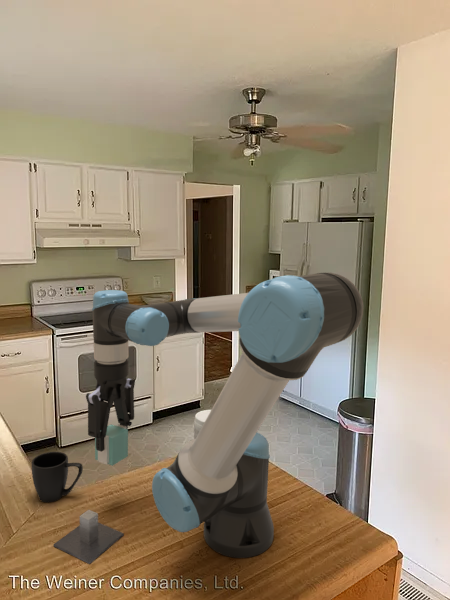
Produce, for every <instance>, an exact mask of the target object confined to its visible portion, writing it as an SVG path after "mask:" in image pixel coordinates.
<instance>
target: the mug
mask: <svg viewBox="0 0 450 600" xmlns="http://www.w3.org/2000/svg"><path fill="white" fill-rule="evenodd" d="M70 467H75V468H78V473H77V475H76V477H75V479H74V481H73V483H72V484H71V485H70V486H69V487H68V488H66V484H67V481H68V475H69V468H70ZM83 468H84V466H83V464H82V463H81V462H69V457H68V455H67V454H66V453H64V452H60V451H49V452H44V453H41V454H38V455H36V456H35V457H34V458H33V459H32V460H31V477H32V483H33V485H34V489H35V491H36V494H37V497H38V499H39V501H40V502H42V503H53V502H57V501H59V500H60V499H62V497H63V496H67V495H69V493H70V492H71V491H72V490H73V489H74V487H75V485H76V483H78V481H79V479H80V477H81V476H82V474H83Z"/></svg>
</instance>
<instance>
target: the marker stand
mask: <svg viewBox="0 0 450 600" xmlns="http://www.w3.org/2000/svg"><path fill="white" fill-rule="evenodd" d="M124 534H125V533H124V532H121V531H119V530H117V529H115V528H112V527H110V526H108V525H106V524H102V523H101V522H99V513H97V512H96V511H93V510H90V509H87V510H86V511H85V512H84V513H82V514H81V515H80V514H79V525H78V526H77V527H74V529H72V530H71V531H70V532H68V533H67V534H65V535H64V536H63V537H62V538H60V539H59V540H57V541H56V542H54V543H53V547H54V548H56V549H58V550H60V551H62V552H64V553H65V554H68V555H70V556H72V557H74V558H77V559H78V560H80V561H82V562H84V563H86V564H89V565H90V564H92V563H93V562H94V561H95V560H97V558H99V557H100V556H101V555H102V554H104V552H106V551H108V549H109V548H111V546H113V545H114V544H115V543H116V542H118V541H119V540H120V539H121V538H122V537H124V536H125V535H124Z"/></svg>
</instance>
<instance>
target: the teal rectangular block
mask: <svg viewBox="0 0 450 600" xmlns="http://www.w3.org/2000/svg"><path fill="white" fill-rule="evenodd" d="M106 435H107V436H109V464H108V465H109V466H115V465H116V464H118V463H119V462H121V461H123V460H125V459H126V458H127V457H129V429H128V430H127V429H124V428H121V427H118V426H116V424H115V425H114V424H108V426H107V432H106ZM94 459H95V461H98V450H97V449H96V438H95V437H94Z"/></svg>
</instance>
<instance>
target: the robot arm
mask: <svg viewBox="0 0 450 600" xmlns="http://www.w3.org/2000/svg"><path fill="white" fill-rule="evenodd" d="M362 298H363V297H362V295H361V293H360V291H359V289H358V288H357V287H356V285H355V284H354V283H353V282H352V281H350V279H348V278H347V277H345V276H343V275H340V274H338V273H333V272H317V273H310V274H303V275H302V274H301V275H290V274H289V275H281V276H276V277H274V278H271V279H268V280H264V281H262V282H260V283H259V284H257V285H255V286H254V287H253V288H251V289H250V291H248V292H242V293H236V294H234V293H233V294H227V295H216V296H207V297H198V298H195V297H194V298H193V297H192V298H191V297H190V298H186V299H185V298H184V299H181V300H173V301H167V302H158V303H157V302H156V303H151V304H144V305H139V304H138V305H137V304H131V303H130V302H129V296H128V293H127V292H126V291H125V290H117V289H106V290H99V291H96V292H95V293H94V294H93V296H92V308H91V312H92V330H93V331H92V333H93V336H92V337H93V359H94V362H93V376H94V378H95V380H96V385H95V390H94V391H93V392H92V393H90V392H88V393H86V395H85V398H86V399H85V400H86V403H87V435H88V436H90V437H92V438H94V439H95V438H96V449H97V450H98V460H97V463H101V464H104V465H109V436H107V435H106V432H107V426H109V419H110V414H111V413H110V412H111V408H112V407H113V406H114V410H115V414H116V418H117V422H118V423H117V424H115V426H118V427H121V428H124V429H127V430H128V431H129V427H131V425H132V424H133V422H132V421H133V420H134V419H135V395H134V394H135V393H134V392H135V391H134V389H135V386H136V385H135V384H136V380H135V379H132V378H128V376H129V360H128V358H129V357H130V356H129V342H133V343H134V344H136V345H141V346H147V347H155V346H158V345H159V344H161V343H162V342H163V341H164V340H165V339H167V338H168V337H172V336H173V337H174V336H177V335H178V336H179V335H185V334H198V333H216V332H217V333H221V332H226V333H227V332H238V333H239V339H238V344H239V348H240V350H241V352H242V353H241V355H240V356H239V357H238V358H239V359H238V360H237V362H236V364H235V365H234V368H233V369H232V371H231V373H230V374H229V377H228V378H227V380H226V383H225V384H224V385H223V387H222V389H221V392H220V393H219V395H218V397H217V399H216V400H215V403H214V404H213V406H212V408H211V409H210V410H211V412H210V413H209V415H208V417H207V419H206V421H205V423H204V424H203V426H202V428H201V430H200V432H199V434H198V436H197V437H196V439H194V438H193V439H192V440H188V441H187V442H186V443H184V444H183V446H182V447H181V448H180V450H179V452H178V454H177V455H176V458H175V459H174V461H173V463H172V464H171V465H169V466H167V467H163V468H161V469H160V470H159V471H157V472H156V473H155V474H154V475H153V479H152V481H151V482H152V483H151V491H152V497H153V500H154V504H155V506H156V508H157V510H158V512H159V514H160V516H161V518H162V519H163V520H164V522H165V523H166V524H167V525H168V526H169V527H170V528H172V530H175V531H177V532H179V533H187V532H189V531H191V530H193V529H196V528H199V527H200V525H201V524H203V523H204V524H203V538H204V541H205V543H206V544H207V545H208V546H209V547H210V548H211V549H212V550H213V551H215V552H216V553H218V554H220V555H223V556H226V557H230V558H234V559H235V558H236V559H241V558H242V559H243V558H244V559H245V558H251V557H255V556H258V555H260V554H262V553H264V552H266V551H267V550H268V549H269V548H270V547H271V546H272V544H273V541H274V532H275V531H274V529H275V527H274V522H273V520H272V519H273V518H272V515H271V512H270V509H269V505H268V483H269V465H270V464H269V463H270V461H269V460H270V457H271V456H270V447H269V446H270V443H269V441H268V439H267V438H266V437H265V436H264V435H263V434H261V433H259V432H258V431H259V430H260V427H262V425H263V423H264V422H265V420H266V418H267V417H268V415H269V414H270V413H271V411H272V409H273V407H274V406H275V404H276V403H277V401H278V400H279V398H280V396H281V394H282V393H283V392H284V390H285V388H286V386H287V385H288V384H289V382H290V381H297V380H300V379H302V378H303V377H304V376H305V375H306V374H307V372H308V371H309V370H310V368H311V366H312V365H313V363H314V362H315V359H316V358H317V357H318V355H319V354H320V352H321V351H322V350H323V349H324V348H326V347H330V346H333V345H336V344H338V343H340V342H343V341H345V340H347V339H348V338H349V337H350V336H352V335H353V334H354V333H355V332H357V329H358V328H359V326H360V324H361V321H362V319H363V317H364V302H363V299H362Z"/></svg>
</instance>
